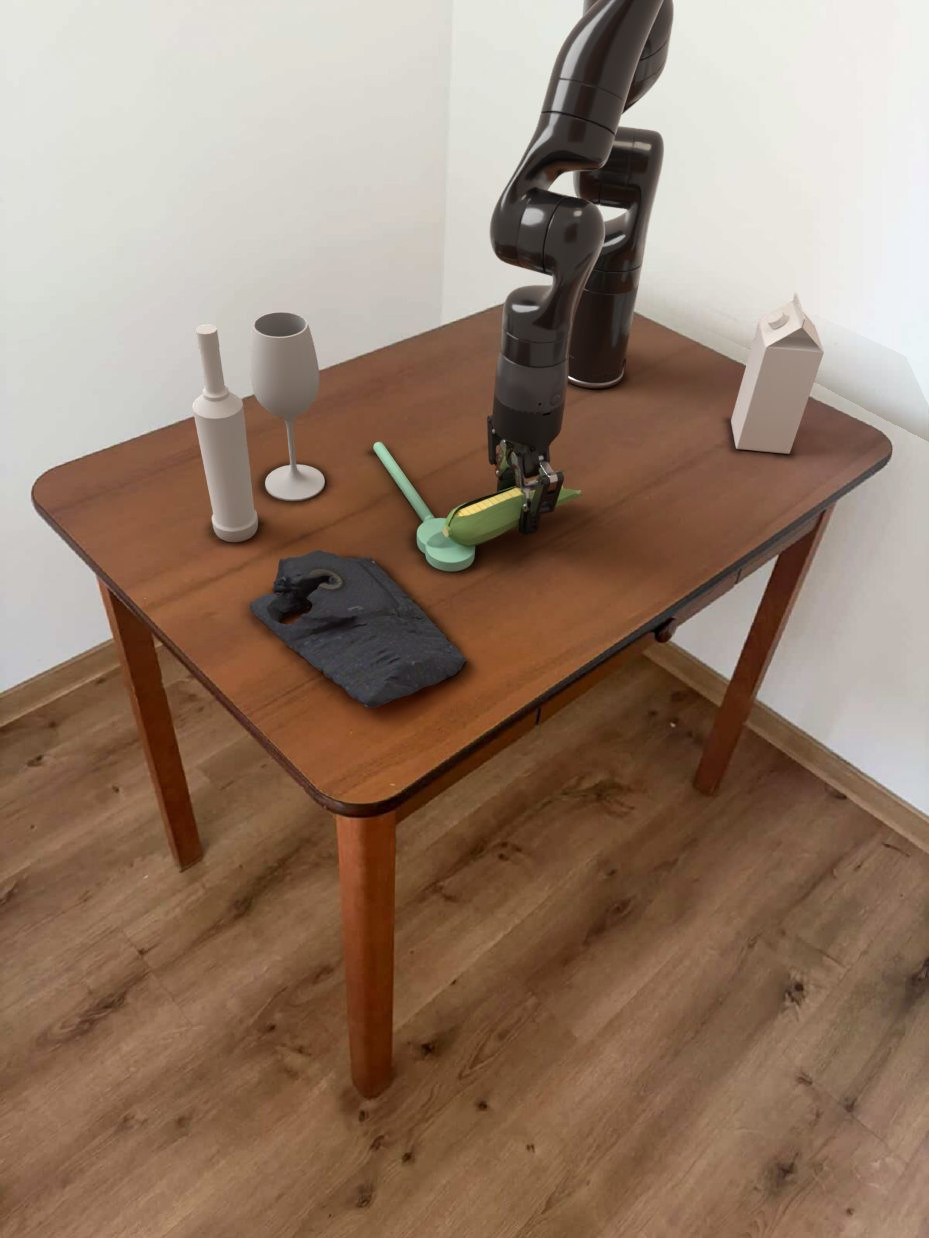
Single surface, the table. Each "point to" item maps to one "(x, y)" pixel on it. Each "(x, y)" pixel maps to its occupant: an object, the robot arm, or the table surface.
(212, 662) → the table surface
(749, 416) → the milk carton
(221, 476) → the bottle
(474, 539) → the edible corn
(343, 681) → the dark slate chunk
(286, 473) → the wineglass
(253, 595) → the table surface
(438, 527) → the spoon
